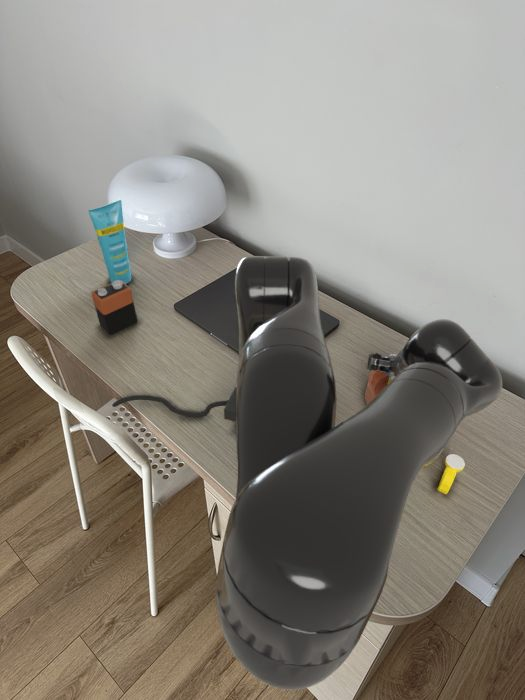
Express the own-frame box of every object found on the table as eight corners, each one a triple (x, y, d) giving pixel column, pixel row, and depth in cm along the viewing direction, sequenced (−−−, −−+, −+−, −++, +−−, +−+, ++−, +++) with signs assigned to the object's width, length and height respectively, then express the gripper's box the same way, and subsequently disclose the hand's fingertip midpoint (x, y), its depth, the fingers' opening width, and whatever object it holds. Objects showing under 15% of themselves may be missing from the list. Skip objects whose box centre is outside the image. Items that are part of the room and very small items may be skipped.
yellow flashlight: (448, 502, 74) (459, 481, 70) (430, 494, 76) (440, 473, 71) (458, 473, 78) (469, 451, 74) (441, 465, 79) (451, 444, 75)
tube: (113, 290, 112) (94, 214, 99) (102, 281, 115) (82, 205, 102) (140, 277, 116) (125, 202, 103) (129, 269, 119) (113, 194, 106)
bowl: (359, 419, 86) (362, 402, 83) (370, 372, 94) (374, 355, 91) (429, 437, 83) (436, 421, 80) (435, 387, 92) (441, 370, 89)
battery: (138, 322, 104) (130, 284, 97) (110, 336, 101) (99, 298, 94) (128, 313, 107) (119, 275, 100) (99, 326, 103) (88, 287, 96)
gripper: (368, 386, 69) (362, 383, 85) (473, 404, 67) (447, 397, 83) (377, 333, 69) (369, 340, 85) (481, 350, 67) (454, 354, 83)
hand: (407, 369), depth 84 cm, fingers open, 8 cm apart
